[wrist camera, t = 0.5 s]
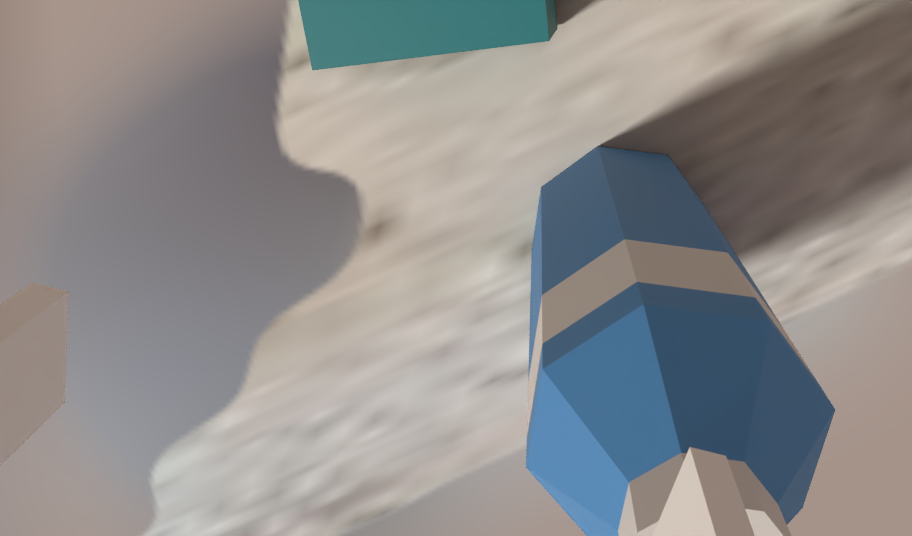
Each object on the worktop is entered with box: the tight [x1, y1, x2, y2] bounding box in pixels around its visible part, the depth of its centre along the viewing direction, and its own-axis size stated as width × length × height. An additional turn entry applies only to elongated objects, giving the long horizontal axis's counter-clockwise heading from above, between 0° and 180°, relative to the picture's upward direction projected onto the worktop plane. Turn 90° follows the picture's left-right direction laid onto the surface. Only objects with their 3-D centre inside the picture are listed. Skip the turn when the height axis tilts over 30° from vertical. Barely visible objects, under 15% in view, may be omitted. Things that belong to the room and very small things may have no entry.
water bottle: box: [526, 146, 835, 536], centre depth 31 cm, size 9×9×25 cm
